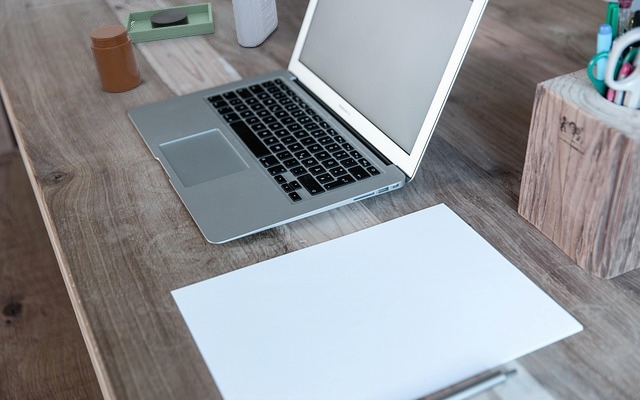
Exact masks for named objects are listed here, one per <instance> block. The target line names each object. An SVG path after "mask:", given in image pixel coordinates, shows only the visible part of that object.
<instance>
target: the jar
mask: <svg viewBox="0 0 640 400" xmlns="http://www.w3.org/2000/svg"><path fill="white" fill-rule="evenodd" d="M89 39H90V40H91V41H90V42H89V47H90V50H91V54H92V58H93V62H94V66H95V69H96V72H97V76H98V80H99V85H100V88H101V90H103V91H104V92H106V93H112V94H114V93H115V94H117V93H124V92H128V91H131V90H134V89H135V88H137V87H138V86H139V85H141V83H142V77H141V72H140V68H139V64H138V61H137V55H136V51H135V48H134V43H133V42H132V38H131V36H130V35H129V34H128V31H127V29H126V27H125V26H124V25H123V24H107V25H102V26H99V27H97V28H95V29H92V30H91V31H90V33H89Z"/></svg>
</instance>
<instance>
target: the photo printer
mask: <svg viewBox="0 0 640 400" xmlns="http://www.w3.org/2000/svg"><path fill="white" fill-rule="evenodd" d="M231 2H232V3H231V4H232V9H233V15H234V16H233V18H234V23H235V30H236V37H237V43H238V44H239V45H240V46H241V47H244V48H254V47H257V46H259V45H260V44H263V42H265V40H266V39H267V38H268V37H269V36H270V35H271V34H272V33H273V32H274V31H275V30H276V29H277V27H278V25H279V24H278V21H279V19H278V11H277V1H276V0H231Z"/></svg>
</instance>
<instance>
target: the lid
mask: <svg viewBox="0 0 640 400" xmlns="http://www.w3.org/2000/svg"><path fill="white" fill-rule="evenodd" d="M150 21H151V25H152V29H155V28H163V27H171V26H179V25H187V24H189V21H188V16H187V13H186V12H185V11H183V10H166V11H162V12H158V13H156V14H154V15H153V16H151V18H150Z"/></svg>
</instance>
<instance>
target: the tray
mask: <svg viewBox="0 0 640 400" xmlns="http://www.w3.org/2000/svg"><path fill="white" fill-rule="evenodd" d="M166 10H183V11H185V12H186V13H187V16H188V21H189V24H187V25H179V26H171V27H163V28H155V29H152V25H151V21H150V18H151V16H153V15H154V14H156V13H158V12H162V11H166ZM132 21H135V22H134V23H133V24H134V25H133V24H132V25H133V26H132V25H131V22H132ZM123 26H125V27H126V29H127V31H128V34H129V35H130V36H131V38H132V42H133V44H137V43H145V42H152V41H161V40H168V39H177V38H185V37H194V36H201V35H208V34H215V23H214V11H213V6H212V2H203V3H196V4H187V5H178V6H169V7H163V8H162V7H161V8H154V9H146V10H138V11H128V12H126V15H125V20H124V25H123ZM131 26H132V27H131Z"/></svg>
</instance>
